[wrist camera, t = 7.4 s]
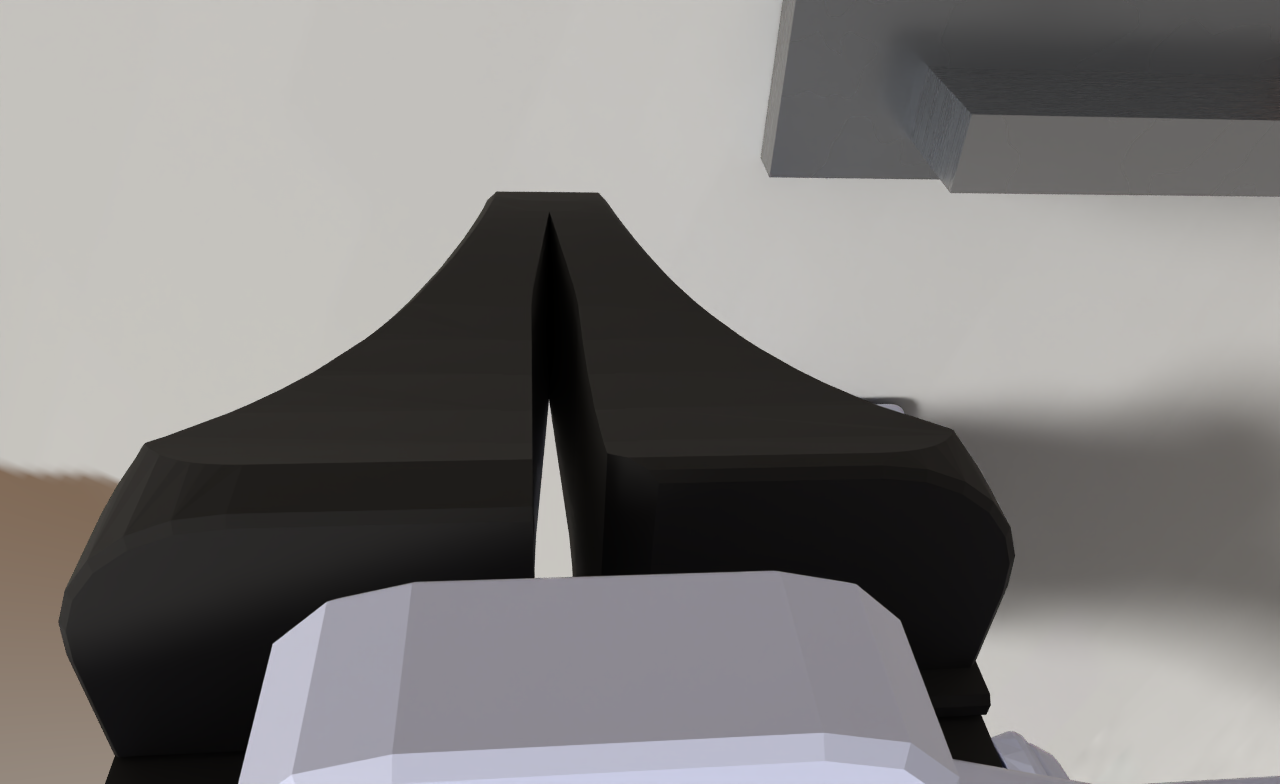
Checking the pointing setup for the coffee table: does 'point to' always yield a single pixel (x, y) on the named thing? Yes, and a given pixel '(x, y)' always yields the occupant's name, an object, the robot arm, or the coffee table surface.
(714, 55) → the coffee table surface
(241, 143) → the coffee table surface
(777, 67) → the chute
